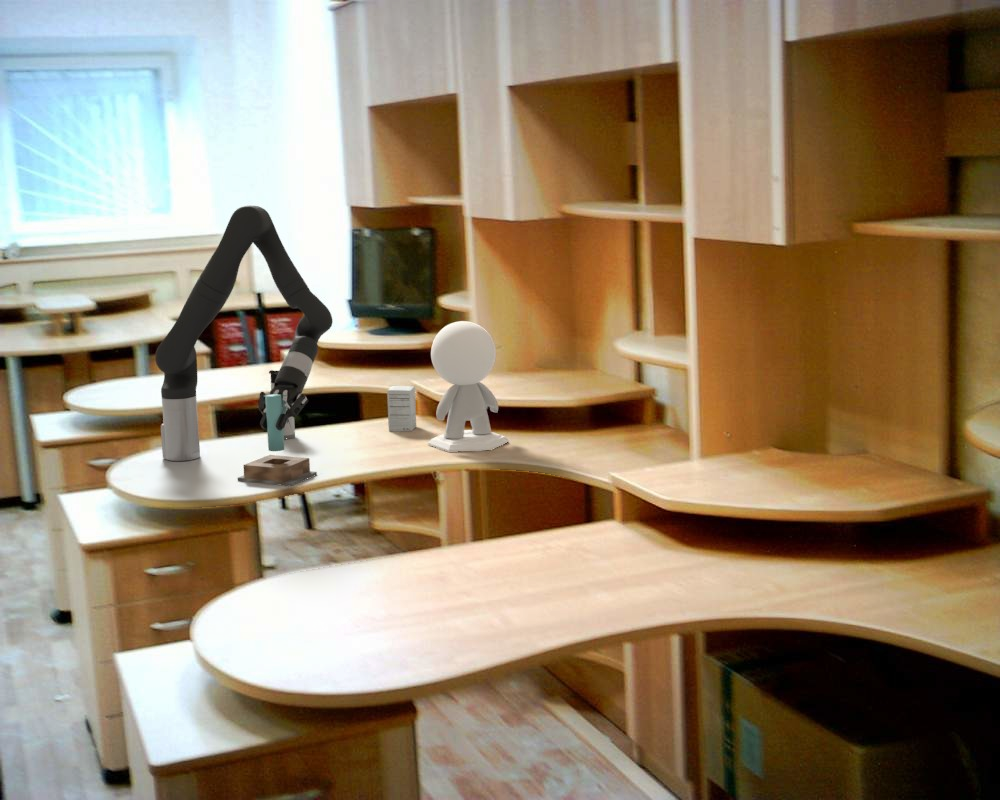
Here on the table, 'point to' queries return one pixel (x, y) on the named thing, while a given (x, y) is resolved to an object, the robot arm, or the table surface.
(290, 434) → the travel mug
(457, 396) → the white toy figurine
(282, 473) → the socket
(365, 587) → the table surface
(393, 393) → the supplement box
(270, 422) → the peg
